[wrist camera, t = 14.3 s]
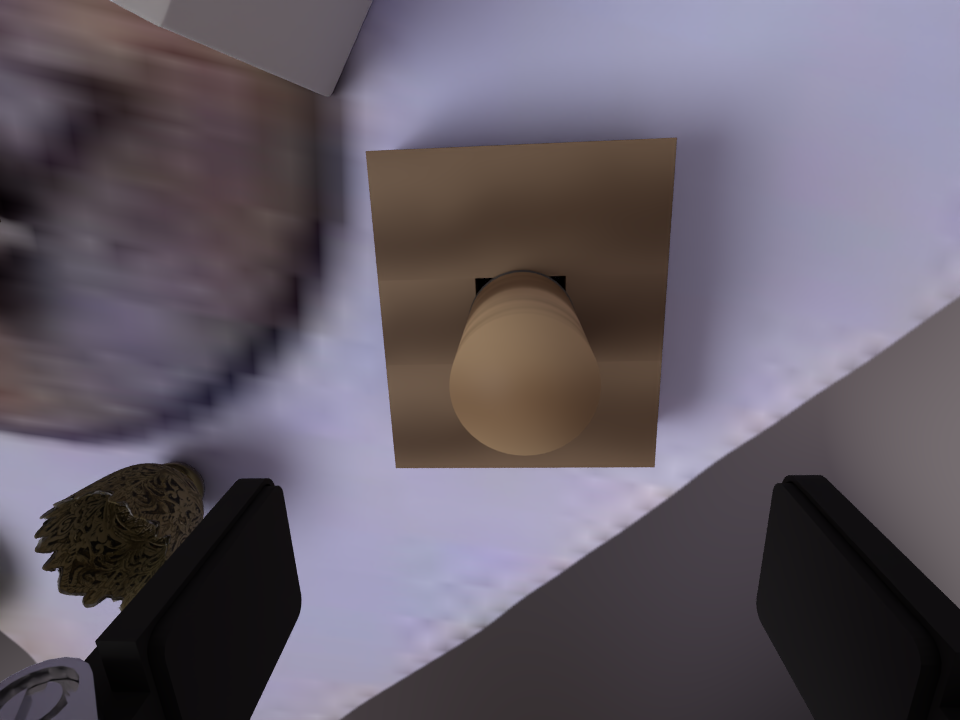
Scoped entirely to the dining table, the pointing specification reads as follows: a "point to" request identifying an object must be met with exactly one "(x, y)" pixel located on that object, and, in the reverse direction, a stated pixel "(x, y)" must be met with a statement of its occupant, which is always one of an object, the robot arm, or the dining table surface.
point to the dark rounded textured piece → (121, 530)
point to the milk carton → (268, 33)
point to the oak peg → (524, 367)
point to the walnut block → (523, 246)
